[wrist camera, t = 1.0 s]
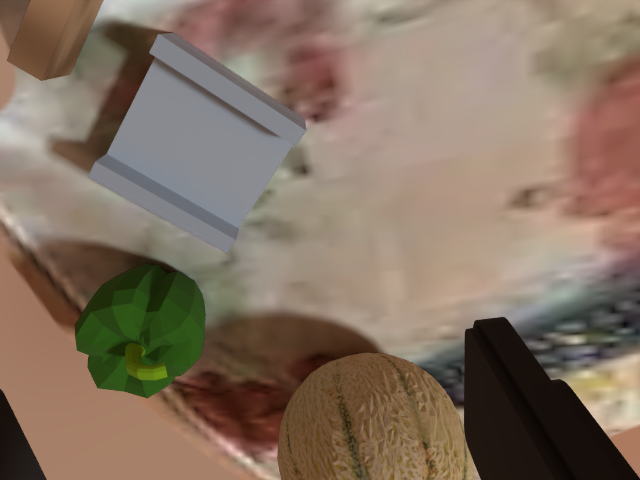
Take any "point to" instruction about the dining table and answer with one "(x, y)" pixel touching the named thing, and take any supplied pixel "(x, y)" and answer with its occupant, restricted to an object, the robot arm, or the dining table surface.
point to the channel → (52, 36)
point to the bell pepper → (142, 330)
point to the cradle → (197, 143)
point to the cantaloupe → (372, 424)
